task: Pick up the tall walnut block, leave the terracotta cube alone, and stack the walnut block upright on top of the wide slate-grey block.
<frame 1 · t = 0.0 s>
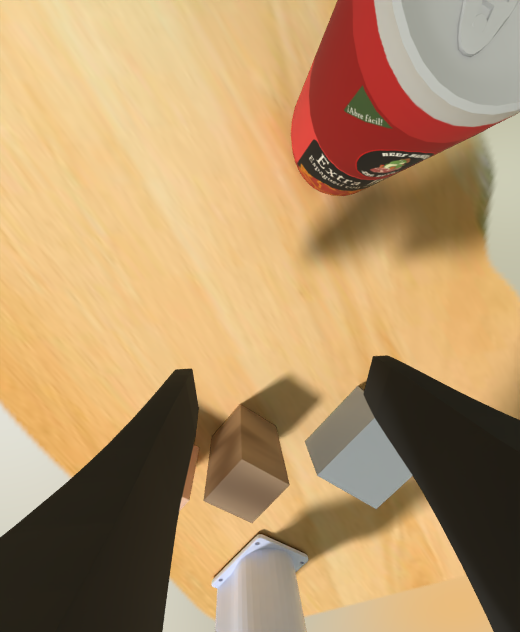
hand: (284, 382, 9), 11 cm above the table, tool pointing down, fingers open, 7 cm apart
terracotta cube: (162, 453, 22), on the table
grey base block: (355, 430, 24), on the table
walnut block: (244, 431, 22), on the table
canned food: (338, 139, 16), on the table
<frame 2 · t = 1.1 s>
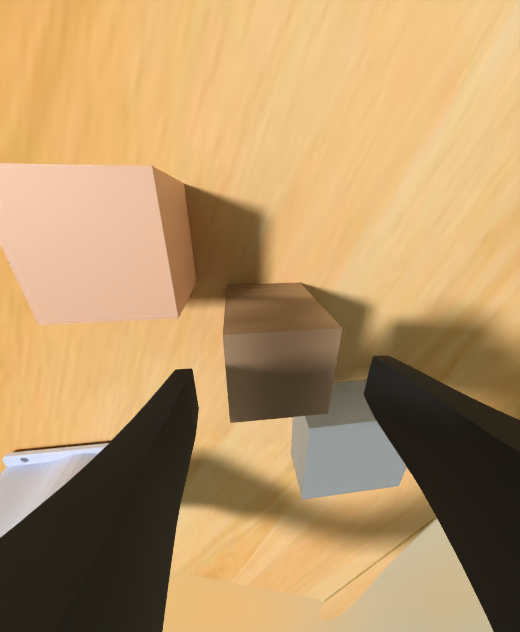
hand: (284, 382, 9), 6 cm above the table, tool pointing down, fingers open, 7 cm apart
terracotta cube: (143, 237, 12), on the table
grey base block: (336, 415, 20), on the table
walnut block: (264, 317, 15), on the table
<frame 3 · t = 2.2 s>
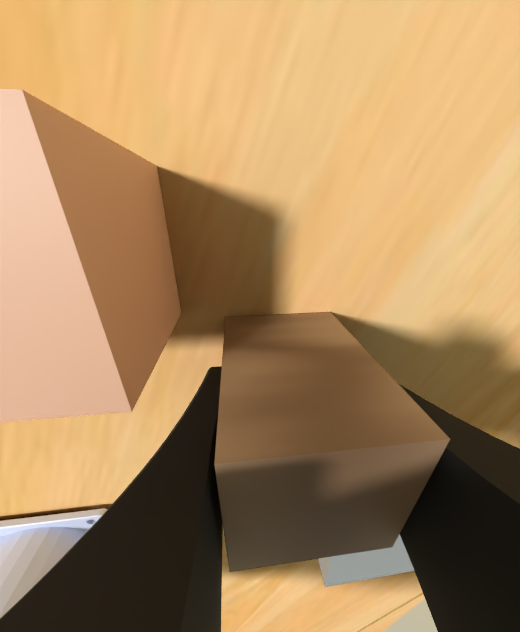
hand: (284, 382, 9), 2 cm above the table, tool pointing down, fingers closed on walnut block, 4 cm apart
terracotta cube: (97, 250, 8), on the table
grey base block: (364, 468, 16), on the table
walnut block: (277, 358, 11), on the table, touching gripper
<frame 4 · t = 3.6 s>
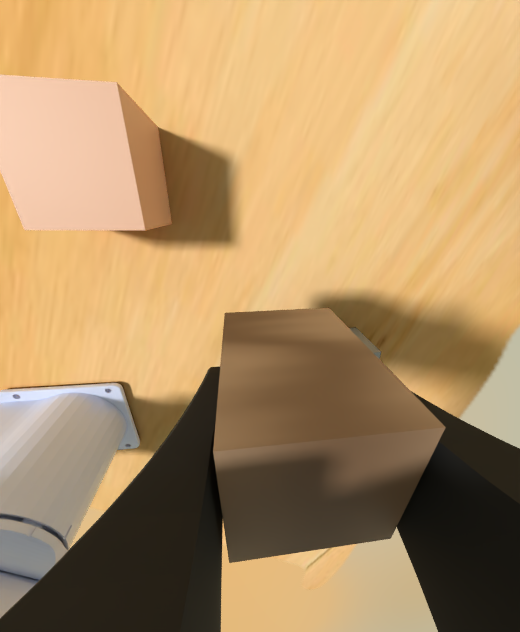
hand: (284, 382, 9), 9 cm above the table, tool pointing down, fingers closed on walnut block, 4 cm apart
terracotta cube: (122, 178, 13), on the table
walnut block: (276, 354, 11), point 8 cm above the table, touching gripper
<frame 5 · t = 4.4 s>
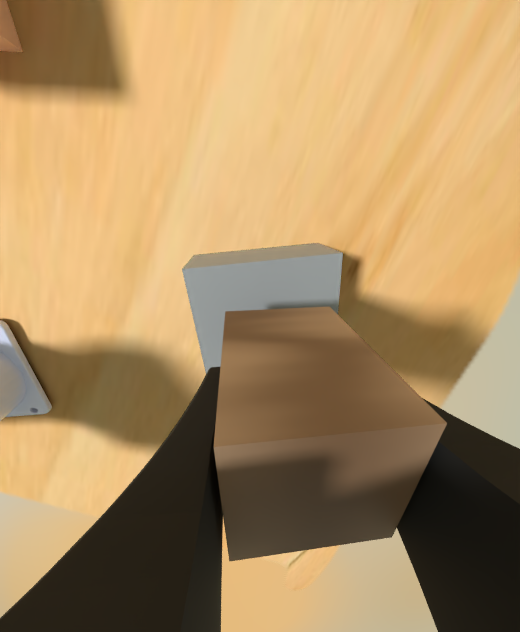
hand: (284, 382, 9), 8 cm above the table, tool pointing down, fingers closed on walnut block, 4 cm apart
grey base block: (261, 304, 16), on the table
walnut block: (277, 353, 11), point 6 cm above the table, touching gripper
when the fingers open (7 cm above the table, at t = 5.0 s): walnut block drops 1 cm, point 4 cm above the table.
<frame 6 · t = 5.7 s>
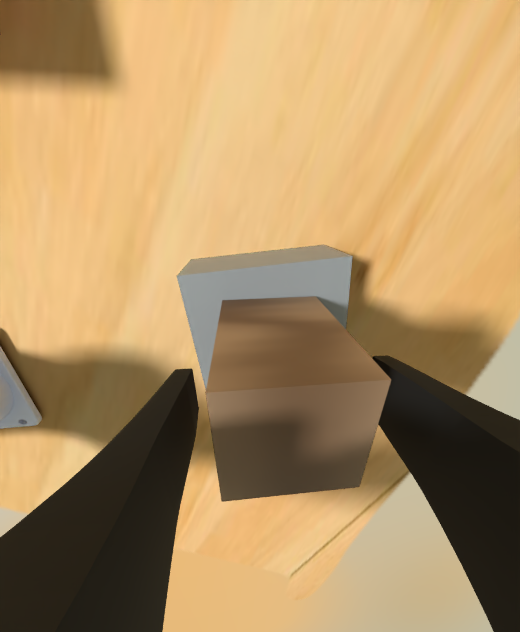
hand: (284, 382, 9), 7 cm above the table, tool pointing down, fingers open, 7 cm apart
grey base block: (263, 310, 15), on the table
walnut block: (269, 338, 12), point 4 cm above the table
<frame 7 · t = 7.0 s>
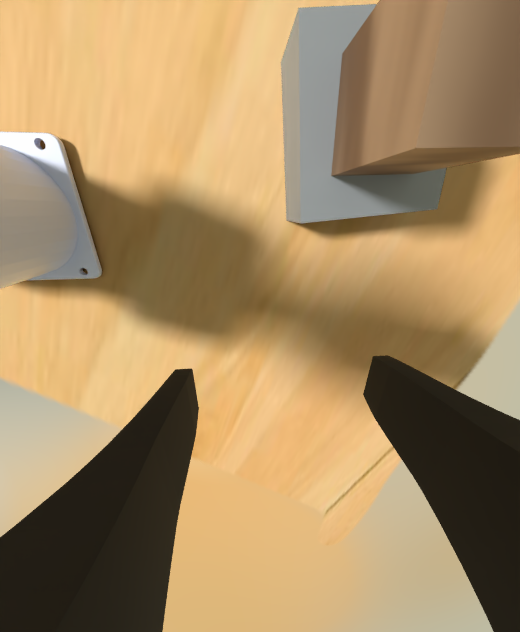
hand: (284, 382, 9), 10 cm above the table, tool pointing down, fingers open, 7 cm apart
grey base block: (344, 147, 15), on the table
walnut block: (381, 120, 11), point 4 cm above the table
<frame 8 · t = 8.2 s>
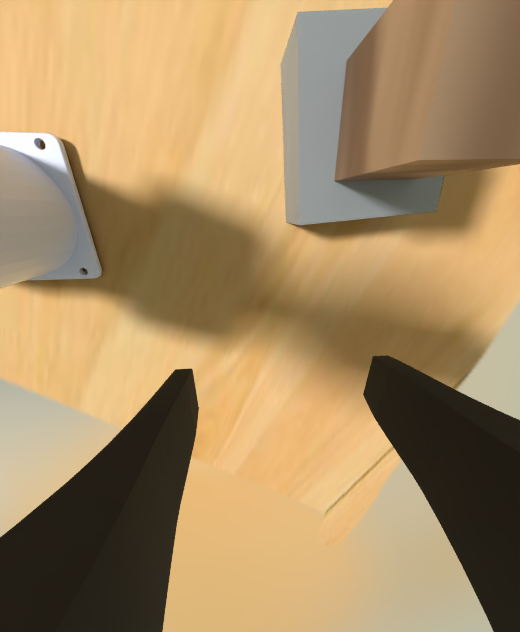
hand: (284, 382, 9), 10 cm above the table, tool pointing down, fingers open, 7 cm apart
grey base block: (343, 149, 15), on the table, touching walnut block
walnut block: (384, 126, 11), point 4 cm above the table, touching grey base block
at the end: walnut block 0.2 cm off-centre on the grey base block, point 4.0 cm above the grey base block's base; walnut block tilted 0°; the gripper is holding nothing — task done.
